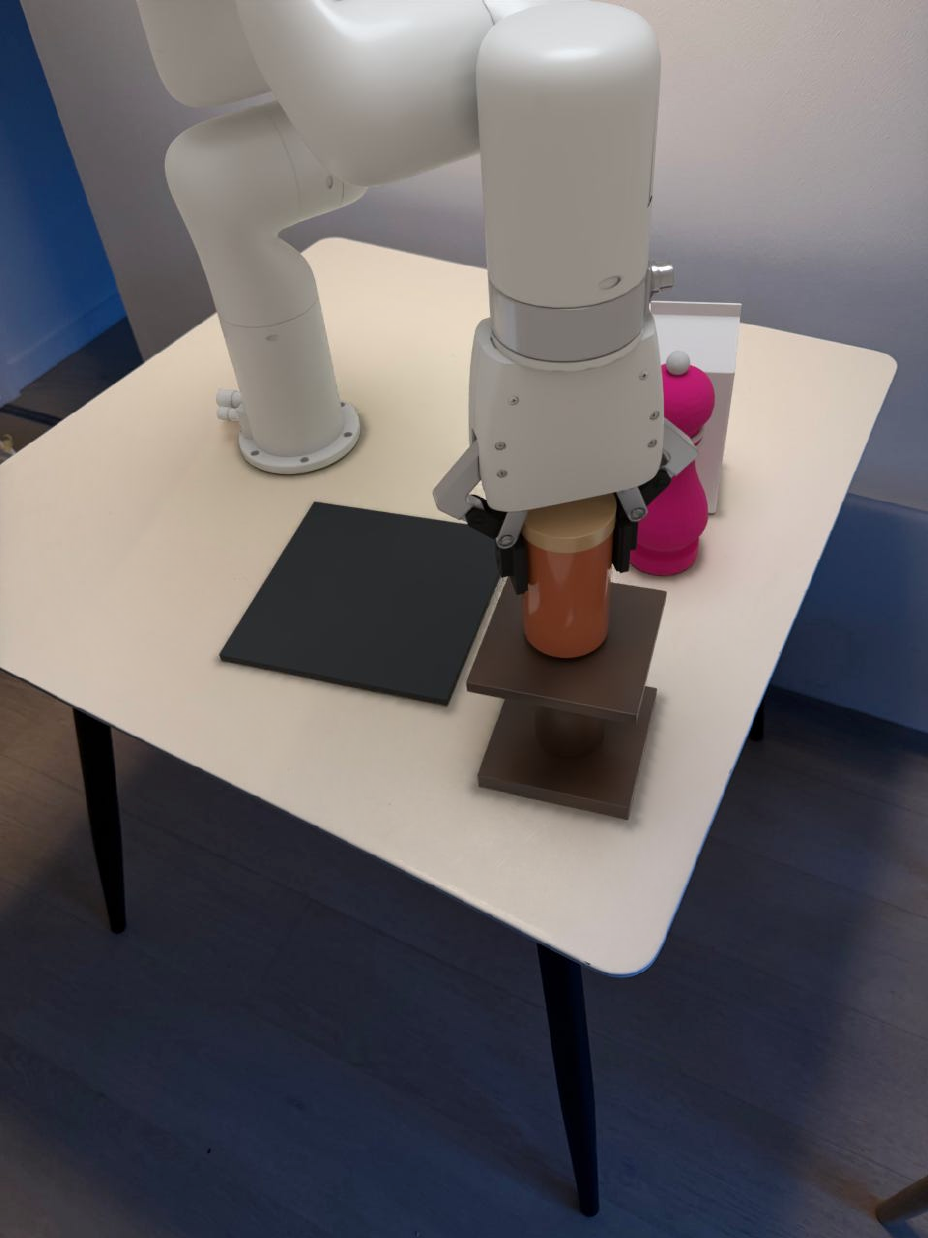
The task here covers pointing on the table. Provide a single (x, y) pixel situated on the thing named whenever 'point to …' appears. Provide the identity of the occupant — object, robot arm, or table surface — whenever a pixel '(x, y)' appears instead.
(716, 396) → the milk carton
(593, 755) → the stand
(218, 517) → the table surface
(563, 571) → the spice jar
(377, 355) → the table surface
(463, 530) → the mat
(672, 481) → the pepper mill
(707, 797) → the table surface
